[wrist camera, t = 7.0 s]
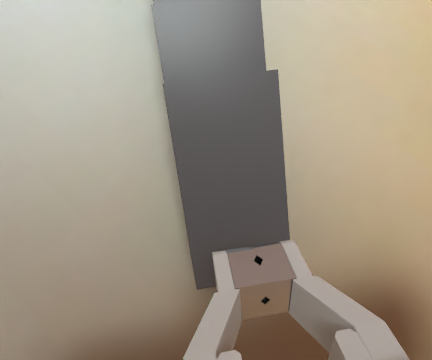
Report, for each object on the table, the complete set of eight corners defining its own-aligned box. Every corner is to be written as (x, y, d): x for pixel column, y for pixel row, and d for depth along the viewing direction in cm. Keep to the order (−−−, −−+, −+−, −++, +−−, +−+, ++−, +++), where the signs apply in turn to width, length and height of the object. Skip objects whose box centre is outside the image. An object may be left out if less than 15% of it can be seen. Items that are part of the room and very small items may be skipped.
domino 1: (276, 198, 15) (259, -7, 13) (185, 213, 15) (151, 5, 12) (267, 190, 17) (251, 7, 14) (186, 203, 16) (155, 17, 14)
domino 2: (292, 272, 14) (277, 69, 12) (196, 289, 14) (162, 83, 12) (281, 256, 16) (267, 74, 14) (195, 271, 16) (165, 87, 13)
